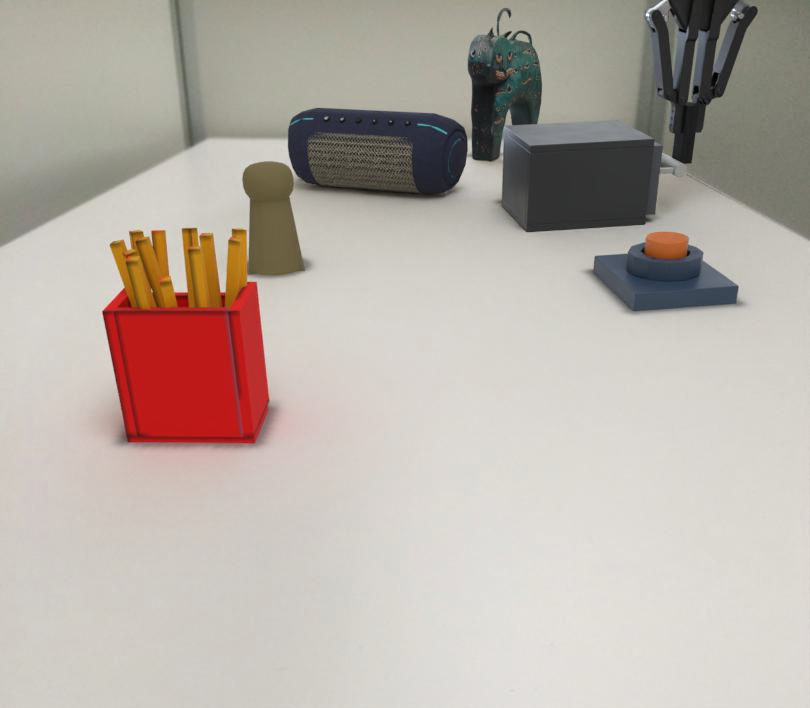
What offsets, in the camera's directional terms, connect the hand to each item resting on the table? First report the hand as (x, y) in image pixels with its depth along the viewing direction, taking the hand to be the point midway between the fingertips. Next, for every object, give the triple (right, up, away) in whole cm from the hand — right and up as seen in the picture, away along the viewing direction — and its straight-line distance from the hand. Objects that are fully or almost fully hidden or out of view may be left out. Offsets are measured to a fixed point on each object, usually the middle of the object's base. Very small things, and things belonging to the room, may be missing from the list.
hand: (681, 161), depth 119 cm
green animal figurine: (-18, +15, +35) cm, 42 cm away
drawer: (-9, -5, +1) cm, 11 cm away
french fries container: (-49, -38, -47) cm, 78 cm away
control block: (-9, -22, -24) cm, 34 cm away
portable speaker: (-38, +2, +15) cm, 41 cm away
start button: (-9, -19, -26) cm, 33 cm away
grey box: (-13, -6, +1) cm, 15 cm away
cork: (-48, -18, -15) cm, 53 cm away
